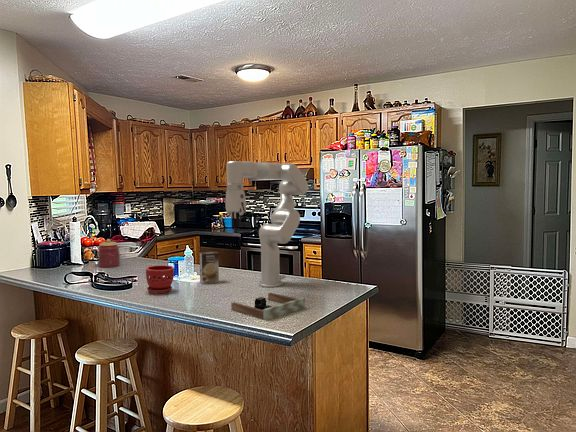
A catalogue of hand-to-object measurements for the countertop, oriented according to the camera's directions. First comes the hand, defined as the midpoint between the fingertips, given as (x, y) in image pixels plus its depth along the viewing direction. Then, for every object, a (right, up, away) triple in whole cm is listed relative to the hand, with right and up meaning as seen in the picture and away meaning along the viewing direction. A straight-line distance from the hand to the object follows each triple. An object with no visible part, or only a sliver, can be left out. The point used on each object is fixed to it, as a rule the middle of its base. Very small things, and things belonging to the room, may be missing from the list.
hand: (235, 226), depth 202 cm
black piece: (+13, -34, -20) cm, 42 cm away
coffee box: (-17, -31, +28) cm, 45 cm away
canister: (-91, -27, +76) cm, 122 cm away
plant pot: (-38, -32, +8) cm, 50 cm away
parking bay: (+16, -34, -22) cm, 43 cm away
